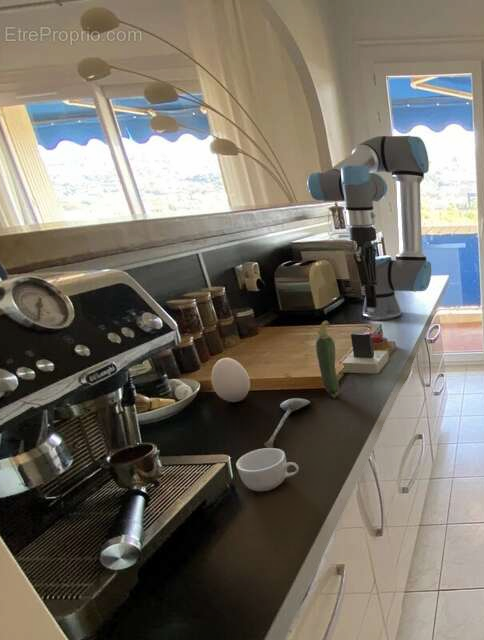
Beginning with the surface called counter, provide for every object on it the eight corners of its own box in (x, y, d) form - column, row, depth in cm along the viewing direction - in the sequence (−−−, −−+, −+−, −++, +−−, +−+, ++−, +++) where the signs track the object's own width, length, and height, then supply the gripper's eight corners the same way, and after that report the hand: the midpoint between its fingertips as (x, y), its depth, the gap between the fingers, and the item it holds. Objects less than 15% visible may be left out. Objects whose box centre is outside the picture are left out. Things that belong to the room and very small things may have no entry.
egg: (247, 391, 117) (236, 350, 112) (259, 400, 112) (248, 358, 107) (213, 401, 112) (200, 358, 107) (224, 411, 107) (211, 367, 102)
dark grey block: (353, 357, 132) (350, 333, 128) (356, 354, 133) (353, 331, 130) (372, 357, 131) (369, 334, 128) (374, 355, 133) (371, 332, 130)
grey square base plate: (354, 358, 139) (352, 349, 138) (388, 360, 138) (387, 350, 137) (340, 372, 129) (338, 362, 128) (377, 373, 128) (376, 363, 127)
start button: (372, 339, 145) (371, 333, 144) (384, 339, 145) (384, 333, 144) (368, 343, 141) (367, 337, 140) (381, 343, 141) (380, 337, 140)
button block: (369, 346, 149) (368, 335, 147) (396, 347, 149) (394, 336, 147) (359, 357, 140) (357, 345, 138) (387, 358, 140) (385, 346, 138)
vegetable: (321, 398, 113) (307, 322, 105) (331, 391, 117) (318, 317, 108) (336, 400, 113) (323, 323, 104) (346, 393, 116) (334, 318, 108)
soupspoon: (315, 403, 112) (288, 406, 112) (312, 391, 111) (284, 393, 110) (285, 447, 92) (252, 450, 92) (281, 433, 91) (247, 436, 90)
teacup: (235, 498, 78) (227, 472, 75) (254, 472, 85) (247, 448, 82) (294, 496, 78) (288, 470, 76) (308, 470, 85) (303, 446, 83)
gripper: (367, 228, 122) (377, 312, 133) (381, 223, 134) (389, 301, 144) (340, 228, 122) (352, 312, 133) (357, 223, 134) (367, 301, 145)
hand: (372, 306), depth 139 cm, fingers closed
